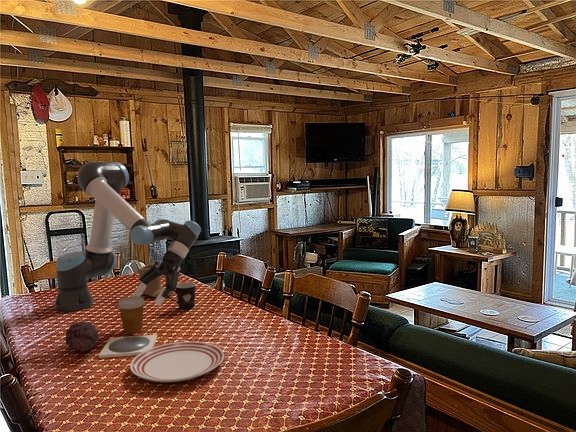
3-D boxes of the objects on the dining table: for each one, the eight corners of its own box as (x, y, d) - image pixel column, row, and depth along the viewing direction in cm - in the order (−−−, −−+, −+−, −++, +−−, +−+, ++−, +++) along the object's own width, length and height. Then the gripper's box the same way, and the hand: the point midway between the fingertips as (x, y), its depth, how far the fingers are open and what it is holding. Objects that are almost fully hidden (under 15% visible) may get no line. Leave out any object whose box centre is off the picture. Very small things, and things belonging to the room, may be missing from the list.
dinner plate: (149, 348, 144) (149, 339, 143) (231, 348, 143) (230, 339, 142) (114, 391, 117) (113, 379, 116) (214, 391, 116) (213, 380, 115)
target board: (98, 358, 137) (98, 354, 137) (110, 340, 151) (110, 337, 150) (150, 354, 139) (150, 350, 139) (157, 337, 153) (157, 334, 153)
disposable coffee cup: (151, 327, 162) (150, 297, 161) (135, 337, 153) (133, 304, 152) (131, 325, 165) (129, 294, 164) (113, 334, 156) (111, 302, 155)
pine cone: (105, 356, 138) (103, 326, 137) (71, 365, 132) (69, 333, 131) (93, 339, 152) (91, 311, 151) (62, 346, 146) (60, 318, 145)
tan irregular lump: (135, 295, 205) (134, 264, 203) (158, 289, 213) (157, 260, 212) (151, 301, 194) (149, 269, 193) (174, 295, 203) (173, 264, 201)
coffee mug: (199, 304, 189) (198, 282, 188) (193, 311, 180) (192, 288, 179) (173, 304, 190) (172, 282, 189) (166, 310, 182) (165, 287, 180)
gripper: (201, 263, 167) (173, 312, 157) (161, 256, 182) (132, 300, 171) (190, 252, 162) (160, 301, 152) (150, 246, 177) (119, 291, 166)
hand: (145, 301), depth 162 cm, fingers open, 13 cm apart
